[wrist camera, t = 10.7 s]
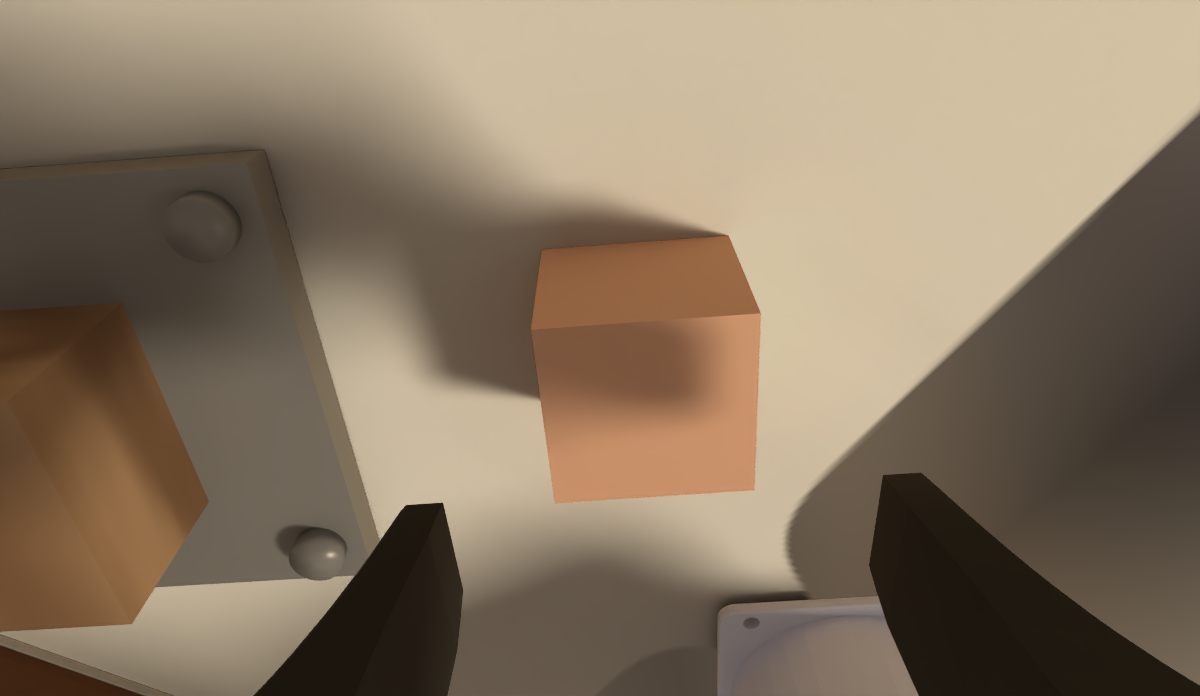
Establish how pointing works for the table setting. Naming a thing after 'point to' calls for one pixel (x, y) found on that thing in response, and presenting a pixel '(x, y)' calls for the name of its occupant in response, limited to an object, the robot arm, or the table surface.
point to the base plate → (206, 346)
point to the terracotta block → (647, 369)
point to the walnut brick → (85, 470)
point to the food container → (57, 675)
